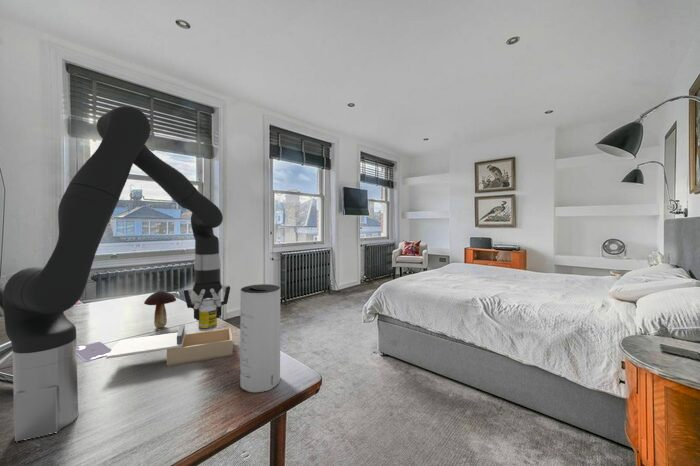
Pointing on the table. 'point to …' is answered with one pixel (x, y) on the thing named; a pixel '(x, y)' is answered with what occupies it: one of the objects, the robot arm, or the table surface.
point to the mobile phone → (92, 351)
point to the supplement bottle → (207, 315)
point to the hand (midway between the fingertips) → (208, 318)
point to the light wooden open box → (202, 347)
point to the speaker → (259, 337)
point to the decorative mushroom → (160, 306)
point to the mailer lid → (148, 344)
